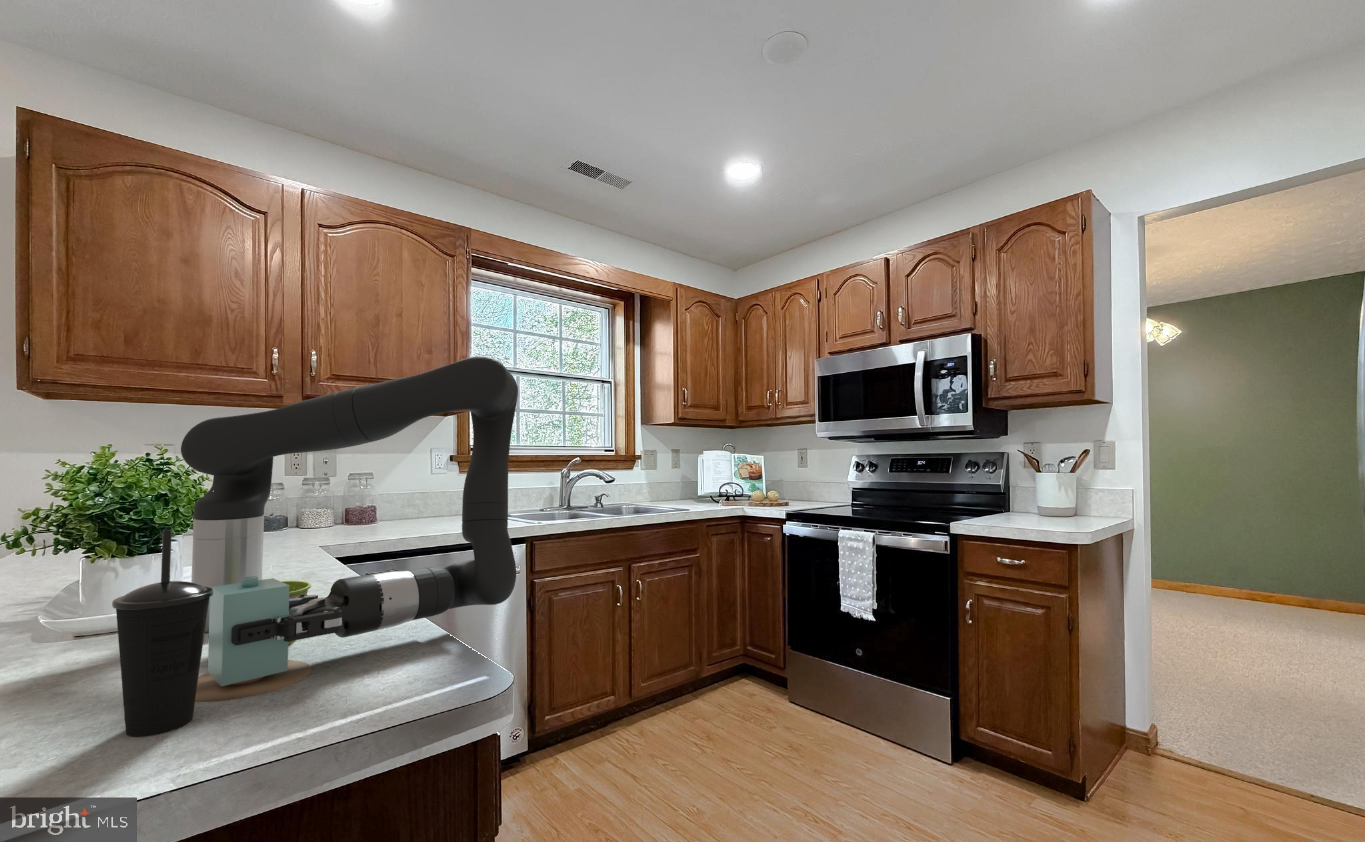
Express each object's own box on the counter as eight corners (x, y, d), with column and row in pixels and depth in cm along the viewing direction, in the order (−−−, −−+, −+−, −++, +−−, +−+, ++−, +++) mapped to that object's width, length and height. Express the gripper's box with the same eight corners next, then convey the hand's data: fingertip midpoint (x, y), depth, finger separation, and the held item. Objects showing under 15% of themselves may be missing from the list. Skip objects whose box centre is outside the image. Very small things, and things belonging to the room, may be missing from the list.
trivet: (165, 689, 71) (165, 680, 71) (291, 660, 81) (292, 653, 81) (188, 722, 63) (189, 712, 63) (327, 685, 72) (327, 676, 72)
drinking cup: (197, 711, 65) (204, 523, 66) (218, 732, 60) (225, 529, 61) (99, 738, 59) (108, 531, 60) (113, 763, 54) (123, 537, 55)
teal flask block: (207, 672, 72) (210, 578, 72) (271, 658, 76) (273, 570, 77) (221, 686, 67) (223, 586, 68) (287, 670, 72) (289, 576, 73)
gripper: (354, 567, 88) (210, 588, 75) (398, 581, 78) (242, 607, 66) (353, 620, 88) (209, 649, 75) (397, 640, 78) (240, 678, 65)
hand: (225, 629), depth 70 cm, fingers closed on teal flask block, 6 cm apart
